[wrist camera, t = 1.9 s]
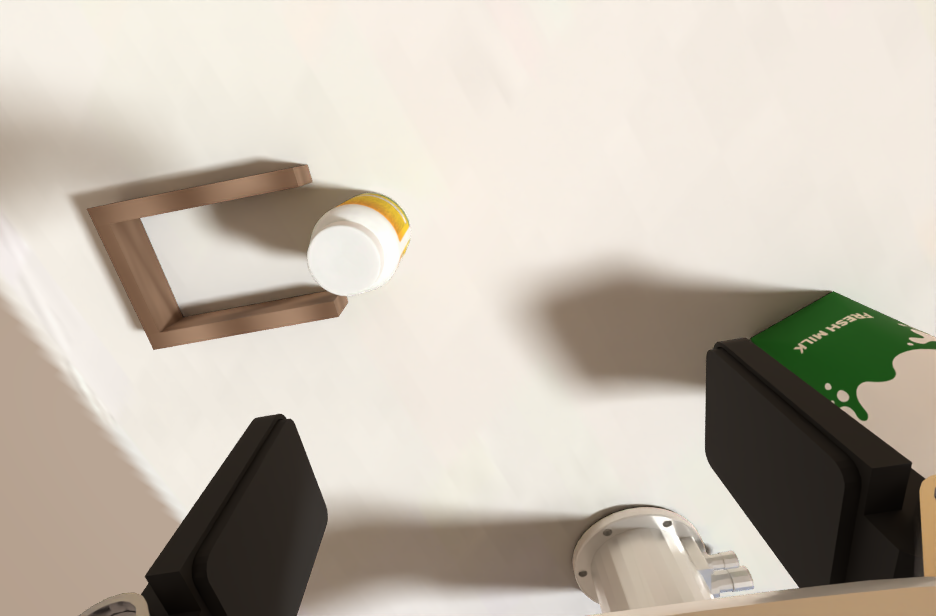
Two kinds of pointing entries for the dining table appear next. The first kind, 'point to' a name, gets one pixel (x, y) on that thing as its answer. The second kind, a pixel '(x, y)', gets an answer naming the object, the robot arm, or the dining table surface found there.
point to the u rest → (152, 288)
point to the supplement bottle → (358, 244)
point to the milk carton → (865, 370)
